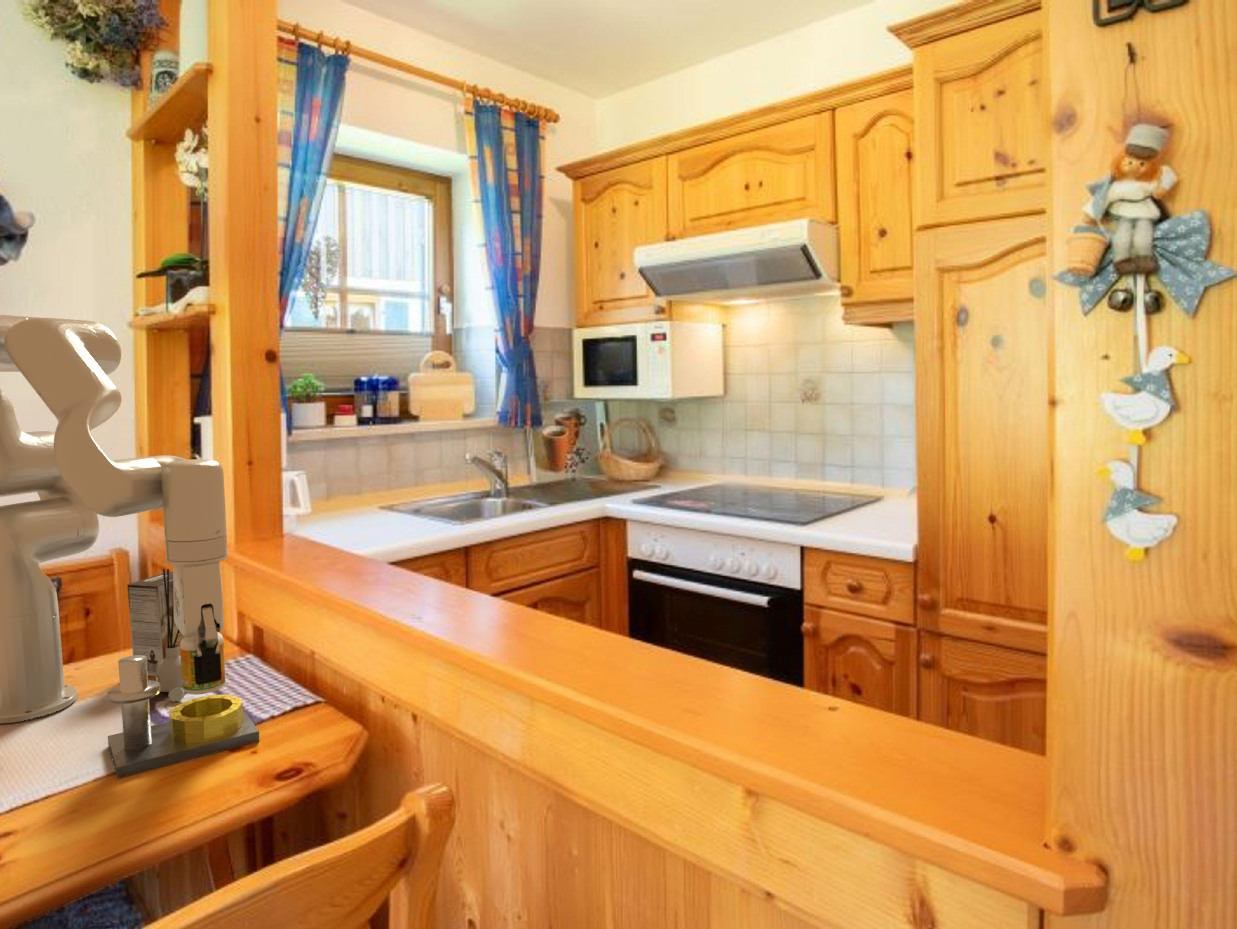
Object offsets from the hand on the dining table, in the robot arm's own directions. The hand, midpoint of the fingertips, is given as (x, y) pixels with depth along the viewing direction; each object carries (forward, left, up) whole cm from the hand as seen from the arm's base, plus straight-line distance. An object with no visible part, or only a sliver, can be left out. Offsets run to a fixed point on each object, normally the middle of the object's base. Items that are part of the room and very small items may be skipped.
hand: (203, 673), depth 111 cm
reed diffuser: (-21, 0, -10) cm, 23 cm away
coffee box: (-34, 0, -10) cm, 35 cm away
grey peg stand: (0, -3, -9) cm, 10 cm away
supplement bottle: (0, 0, -2) cm, 2 cm away
